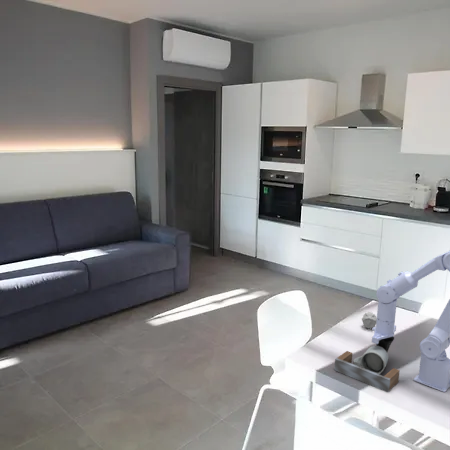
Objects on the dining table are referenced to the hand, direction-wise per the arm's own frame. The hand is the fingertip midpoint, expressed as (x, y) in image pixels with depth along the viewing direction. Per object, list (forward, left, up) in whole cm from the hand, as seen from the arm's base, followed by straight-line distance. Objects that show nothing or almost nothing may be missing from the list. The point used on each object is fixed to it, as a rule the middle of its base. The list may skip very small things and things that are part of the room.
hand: (382, 356), depth 149 cm
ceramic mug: (+1, +7, -3) cm, 7 cm away
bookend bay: (0, +11, -2) cm, 12 cm away
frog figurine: (+16, -24, -3) cm, 29 cm away
